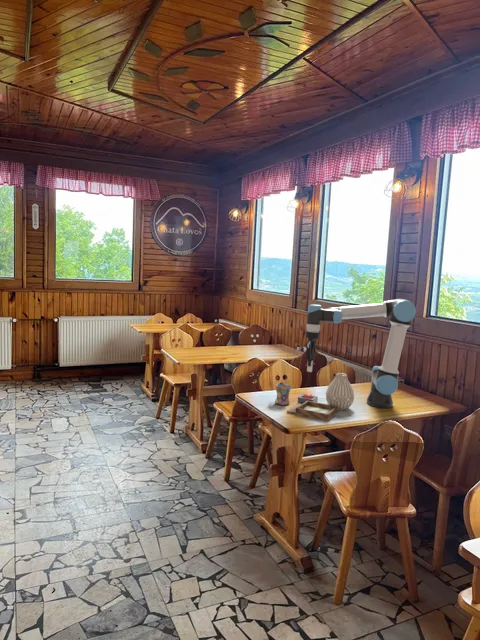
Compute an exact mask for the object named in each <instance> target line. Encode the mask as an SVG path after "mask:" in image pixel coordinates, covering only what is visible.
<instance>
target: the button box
mask: <svg viewBox="0 0 480 640" xmlns="http://www.w3.org/2000/svg"><path fill="white" fill-rule="evenodd" d="M304 394H305V393H303V394H301V395H299V396H297V404H298V403H301V404H303V403H304V402H306V401H312V402H318V398H319V397H318V396H315V395H312V399H309V398H304Z"/></svg>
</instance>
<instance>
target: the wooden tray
mask: <svg viewBox="0 0 480 640" xmlns="http://www.w3.org/2000/svg"><path fill="white" fill-rule="evenodd" d="M338 412H339V410H338V406H333V405H329V404H328V403H327V404H326V403H322V402H318V401H317V402H312V401H306V402H304V403H303V404H301V403H298V402H297V404H295V405H293V406H292V407H290V408H289V409H287V410H286V414H290V415H294V414H295V415H294V416H299V417H300V416H301V417H304V418H309V419H314V420H320V421H324V422H329V421H330V420H331V419H333V417H335V416H336V415H337V414H338Z"/></svg>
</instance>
